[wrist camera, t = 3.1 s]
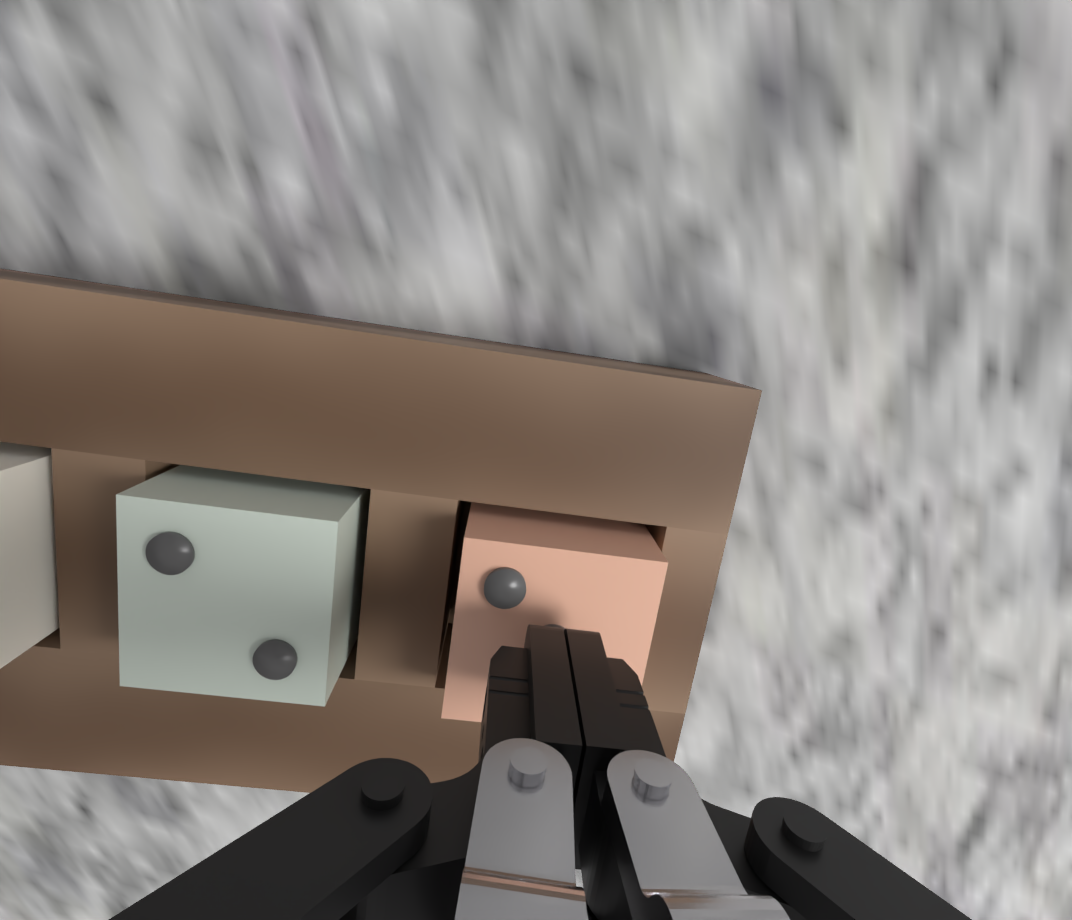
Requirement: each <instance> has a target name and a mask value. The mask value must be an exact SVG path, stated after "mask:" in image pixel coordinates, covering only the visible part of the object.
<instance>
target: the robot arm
mask: <svg viewBox="0 0 1072 920" xmlns="http://www.w3.org/2000/svg"><path fill="white" fill-rule="evenodd" d="M643 693H644V692H643V689H642V686H641V683H640V680H639V677H638V675H637V674H636V673H635V672H634V671H633V669H632V668H631V667H630V666H629V665H628V664H627V663H626V662H625V661H624V660H623V659H618V658H609V657H607V656H606V653H605V649H604V645H603V642H602V638H601V635H600V633H599V632H594V631H585V630H576V629H568V628H565V629H564V630H563V628H558V627H549V626H541V625H532V624H529V625H528V627H527V632H526V637H525V644H524V648H519V647H510V646H501V647H500V648H499V649H498V651H497V652H496V653H495V654H494V655H493V657H492V658H491V660H490V666H489V673H488V680H487V687H486V694H485V701H484V707H483V714H482V721H481V732H480V746H479V760H478V764H477V765H476V766H475V767H474V768H473V769H471V770H470V771H469V772H467V773H465V774H463V775H462V776H459V777H457V778H454V779H451V780H446V781H441V782H436V783H430V781H429V778H428V777H427V776H426V774H425V773H424V772H423V771H422V770H421V769H420V768H418V767H417V766H415V765H414V764H411V763H409V762H407V761H404V760H400V759H394V758H377V759H371V760H367V761H364V762H361V763H359V764H357V765H355V766H353V767H351V768H349V769H348V770H346V771H345V772H343V773H341V774H340V775H338V776H337V777H335V778H333V779H332V780H330V781H329V782H327V783H325V784H324V785H322V786H321V787H319V788H318V789H316V790H314V791H313V792H311V793H310V794H308V795H306V796H305V797H303V798H302V799H300V800H298V801H297V802H295V803H294V804H292V805H290V806H289V807H287V808H286V809H284V810H283V811H281V812H279V813H278V814H276V815H275V816H273V817H271V818H270V819H268V820H267V821H265V822H263V823H262V824H260V825H259V826H257V827H256V828H254V829H252V830H251V831H249V832H248V833H246V834H244V835H243V836H241V837H240V838H238V839H236V840H235V841H233V842H232V843H230V844H228V845H227V846H225V847H224V848H222V849H221V850H219V851H217V852H216V853H214V854H213V855H211V856H209V857H208V858H206V859H205V860H203V861H201V862H200V863H198V864H197V865H195V866H193V867H192V868H190V869H189V870H187V871H186V872H184V873H182V874H181V875H179V876H178V877H176V878H174V879H173V880H171V881H170V882H168V883H166V884H165V885H163V886H162V887H160V888H159V889H157V890H155V891H154V892H152V893H151V894H149V895H147V896H146V897H144V898H143V899H141V900H139V901H138V902H136V903H135V904H133V905H131V906H130V907H128V908H127V909H125V910H124V911H122V912H120V913H119V914H117V915H116V916H114V917H112V918H111V919H109V920H971V919H970V918H969V917H967V916H966V915H964V914H963V913H961V912H960V911H959V910H957V909H956V908H954V907H953V906H952V905H950V904H949V903H947V902H946V901H945V900H943V899H942V898H940V897H939V896H937V895H936V894H935V893H933V892H932V891H930V890H929V889H928V888H926V887H925V886H923V885H922V884H921V883H919V882H918V881H916V880H915V879H913V878H912V877H911V876H909V875H908V874H906V873H905V872H904V871H902V870H901V869H899V868H898V867H896V866H895V865H894V864H892V863H891V862H889V861H888V860H887V859H885V858H884V857H882V856H881V855H880V854H878V853H877V852H875V851H874V850H872V849H871V848H870V847H868V846H867V845H865V844H864V843H863V842H861V841H860V840H858V839H857V838H855V837H854V836H853V835H851V834H850V833H848V832H847V831H846V830H844V829H843V828H841V827H840V826H839V825H837V824H836V823H834V822H833V821H831V820H830V819H829V818H827V817H826V816H824V815H823V814H821V813H820V812H818V811H817V810H815V809H813V808H811V807H810V806H808V805H806V804H803V803H801V802H798V801H795V800H792V799H787V798H781V797H773V798H767V799H764V800H762V801H760V802H759V803H758V804H757V805H756V806H755V808H754V810H753V813H752V817H751V818H749V817H746V816H743V815H740V814H737V813H735V812H732V811H729V810H726V809H723V808H720V807H718V806H715V805H713V804H710V803H708V802H706V801H705V800H703V799H701V798H700V796H699V794H698V792H697V789H696V787H695V785H694V783H693V782H692V780H691V778H690V777H689V776H688V774H687V773H686V772H685V771H684V770H683V769H682V768H681V767H680V766H679V765H677V764H676V763H675V762H673V761H671V760H670V759H668V758H666V755H665V752H664V749H663V746H662V743H661V740H660V737H659V735H658V732H657V729H656V726H655V723H654V720H653V717H652V715H651V712H650V710H649V709H648V707H649V706H648V703H647V700H646V697H645V695H643ZM575 869H580V870H581V871H582V879H583V888H582V887H576V880H575Z"/></svg>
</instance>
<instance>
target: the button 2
mask: <svg viewBox="0 0 1072 920" xmlns="http://www.w3.org/2000/svg"><path fill="white" fill-rule="evenodd" d="M370 493H371V489H367V488H359V487H351V486H344V485H336V484H328V483H320V482H312V481H305V480H297V479H289V478H281V477H273V476H265V475H258V474H250V473H242V472H234V471H226V470H218V469H211V468H203V467H195V466H187V465H179V466H177V467H175V468H173V469H170V470H168V471H166V472H164V473H162V474H160V475H157V476H155V477H153V478H151V479H149V480H146V481H144V482H142V483H140V484H138V485H136V486H133V487H131V488H129V489H127V490H125V491H123V492H120V493H118V494H116V523H117V573H118V624H119V674H120V686H125V687H135V688H145V689H155V690H165V691H175V692H185V693H195V694H205V695H215V696H225V697H234V698H244V699H254V700H264V701H274V702H284V703H294V704H304V705H314V706H324V707H325V705H326V703H327V701H328V699H329V696H330V694H331V692H332V690H333V688H334V686H335V684H336V682H337V680H338V677H339V675H340V673H341V671H342V669H343V667H344V665H345V663H346V661H347V658H348V656H349V654H350V652H351V650H352V648H353V646H354V644H355V642H356V639H357V637H358V633H359V621H360V610H361V598H362V586H363V575H364V563H365V551H366V540H367V528H368V516H369V505H370Z"/></svg>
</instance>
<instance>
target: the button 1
mask: <svg viewBox="0 0 1072 920" xmlns="http://www.w3.org/2000/svg"><path fill="white" fill-rule="evenodd" d="M58 628H60V627H59V605H58V584H57V562H56V540H55V518H54V496H53V475H52V453H51V448H46V447H38V446H31V445H23V444H15V443H7V442H0V669H1V668H2V667H4V666H5V665H6V664H8V663H9V662H11V661H12V660H14V659H15V658H16V657H18V656H19V655H21V654H22V653H24V652H25V651H26V650H28V649H29V648H31V647H32V646H34V645H35V644H37V643H38V642H39V641H41V640H42V639H44V638H45V637H47V636H48V635H49V634H51V633H52V632H54V631H55V630H57V629H58Z"/></svg>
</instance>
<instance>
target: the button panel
mask: <svg viewBox="0 0 1072 920" xmlns="http://www.w3.org/2000/svg"><path fill="white" fill-rule="evenodd" d="M761 392H762V390H758V389H755V388H752V387H749V386H746V385H742V384H739V383H736V382H733V381H730V380H726V379H723V378H720V377H717V376H714V375H710V374H707V373H702V372H695V371H688V370H682V369H675V368H668V367H661V366H655V365H648V364H641V363H634V362H628V361H621V360H614V359H607V358H601V357H594V356H587V355H580V354H574V353H567V352H560V351H553V350H547V349H540V348H533V347H526V346H520V345H513V344H506V343H499V342H493V341H486V340H479V339H472V338H466V337H459V336H452V335H445V334H439V333H432V332H425V331H418V330H412V329H405V328H398V327H391V326H385V325H378V324H371V323H364V322H358V321H351V320H344V319H337V318H331V317H324V316H317V315H310V314H304V313H297V312H290V311H283V310H277V309H270V308H263V307H256V306H250V305H243V304H236V303H229V302H223V301H216V300H209V299H202V298H196V297H189V296H182V295H175V294H169V293H162V292H155V291H148V290H142V289H135V288H128V287H121V286H115V285H108V284H101V283H94V282H88V281H81V280H74V279H67V278H61V277H54V276H47V275H40V274H34V273H27V272H20V271H14V270H7V269H0V442H7V443H15V444H23V445H31V446H38V447H46V448H51V453H52V475H53V496H54V518H55V540H56V562H57V584H58V605H59V627H60V628H58V629H57V630H55V631H54V632H52V633H51V634H49V635H48V636H47V637H45V638H44V639H42V640H41V641H39V642H38V643H37V644H35V645H34V646H32V647H31V648H29V649H28V650H26V651H25V652H24V653H22V654H21V655H19V656H18V657H16V658H15V659H14V660H12V661H11V662H9V663H8V664H6V665H5V666H4V667H2V668H1V669H0V765H7V766H18V767H29V768H40V769H51V770H62V771H74V772H85V773H96V774H107V775H118V776H129V777H141V778H152V779H163V780H174V781H185V782H196V783H207V784H219V785H230V786H241V787H252V788H263V789H274V790H286V791H297V792H308V793H311V792H313V791H314V790H316V789H318V788H319V787H321V786H322V785H324V784H325V783H327V782H329V781H330V780H332V779H333V778H335V777H337V776H338V775H340V774H341V773H343V772H345V771H346V770H348V769H349V768H351V767H353V766H355V765H357V764H359V763H361V762H364V761H367V760H371V759H377V758H394V759H400V760H404V761H407V762H409V763H411V764H414V765H415V766H417V767H418V768H420V769H421V770H422V771H423V772H424V773H425V774H426V776H427V777H428V778H429V781H430V783H436V782H441V781H446V780H451V779H454V778H457V777H459V776H462V775H463V774H465V773H467V772H469V771H470V770H471V769H473V768H474V767H475V766H476V765H477V764H478V760H479V746H480V732H481V722H474V721H464V720H454V719H444V718H441V716H442V708H443V700H444V692H445V684H446V676H447V668H448V660H449V652H450V645H451V637H452V629H453V621H454V613H455V605H456V597H457V589H458V581H459V574H460V566H461V558H462V550H463V542H464V535H465V531H466V526H467V521H468V516H469V512H470V507H471V502H477V503H485V504H492V505H500V506H508V507H516V508H524V509H532V510H539V511H547V512H555V513H563V514H571V515H578V516H586V517H594V518H602V519H610V520H618V521H625V522H633V523H641V524H645V526H646V528H647V529H648V531H649V532H650V534H651V536H652V537H653V539H654V540H655V542H656V544H657V545H658V547H659V548H660V550H661V552H662V553H663V555H664V556H665V558H666V560H667V561H668V567H667V572H666V576H665V581H664V586H663V590H662V595H661V599H660V604H659V609H658V613H657V618H656V623H655V627H654V632H653V637H652V641H651V646H650V651H649V655H648V660H647V664H646V669H645V674H644V678H643V683H642V689H643V692H644V693H643V695H645V697H646V700H647V703H648V706H649V707H648V709H649V710H650V712H651V715H652V717H653V720H654V723H655V726H656V729H657V732H658V735H659V737H660V740H661V743H662V746H663V749H664V752H665V755H666V758H668V759H670V760H671V761H673V762H674V758H675V754H676V750H677V745H678V741H679V737H680V733H681V729H682V724H683V720H684V716H685V712H686V708H687V703H688V699H689V695H690V691H691V687H692V682H693V678H694V674H695V670H696V666H697V661H698V657H699V653H700V649H701V645H702V640H703V636H704V632H705V628H706V624H707V619H708V615H709V611H710V607H711V603H712V598H713V594H714V590H715V586H716V582H717V577H718V573H719V569H720V565H721V561H722V556H723V552H724V548H725V544H726V539H727V535H728V531H729V527H730V523H731V518H732V514H733V510H734V506H735V502H736V497H737V493H738V489H739V485H740V481H741V476H742V472H743V468H744V464H745V460H746V455H747V451H748V447H749V443H750V439H751V434H752V430H753V426H754V422H755V418H756V413H757V409H758V405H759V401H760V397H761ZM179 465H187V466H195V467H203V468H211V469H218V470H226V471H234V472H242V473H250V474H258V475H265V476H273V477H281V478H289V479H297V480H305V481H312V482H320V483H328V484H336V485H344V486H351V487H359V488H367V489H371V493H370V505H369V516H368V528H367V540H366V551H365V563H364V575H363V586H362V598H361V610H360V621H359V633H358V637H357V639H356V642H355V644H354V646H353V648H352V650H351V652H350V654H349V656H348V658H347V661H346V663H345V665H344V667H343V669H342V671H341V673H340V675H339V677H338V680H337V682H336V684H335V686H334V688H333V690H332V692H331V694H330V696H329V699H328V701H327V703H326V705H325V707H324V706H314V705H304V704H294V703H284V702H274V701H264V700H254V699H244V698H234V697H225V696H215V695H205V694H195V693H185V692H175V691H165V690H155V689H145V688H135V687H125V686H120V674H119V624H118V573H117V523H116V494H118V493H120V492H123V491H125V490H127V489H129V488H131V487H133V486H136V485H138V484H140V483H142V482H144V481H146V480H149V479H151V478H153V477H155V476H157V475H160V474H162V473H164V472H166V471H168V470H170V469H173V468H175V467H177V466H179Z"/></svg>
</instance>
